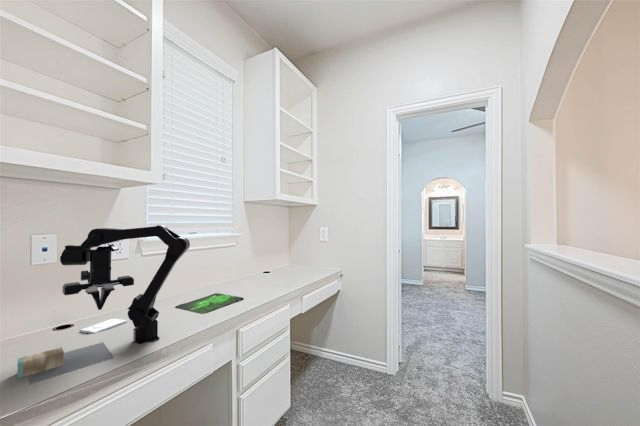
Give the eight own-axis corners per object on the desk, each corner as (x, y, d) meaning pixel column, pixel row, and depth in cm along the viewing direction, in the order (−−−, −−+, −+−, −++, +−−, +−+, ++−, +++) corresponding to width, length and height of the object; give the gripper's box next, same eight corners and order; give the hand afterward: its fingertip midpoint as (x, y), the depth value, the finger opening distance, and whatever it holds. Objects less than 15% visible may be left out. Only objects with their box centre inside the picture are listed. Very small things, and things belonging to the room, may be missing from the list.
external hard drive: (126, 324, 114) (94, 336, 102) (112, 322, 117) (79, 333, 105) (126, 320, 114) (94, 331, 102) (112, 318, 117) (79, 329, 105)
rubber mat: (103, 343, 95) (103, 342, 95) (114, 359, 84) (114, 357, 84) (27, 364, 81) (27, 362, 81) (29, 386, 71) (29, 384, 71)
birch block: (61, 347, 83) (17, 358, 76) (63, 351, 80) (17, 363, 73) (61, 360, 83) (17, 373, 76) (63, 365, 80) (17, 378, 73)
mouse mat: (203, 315, 124) (203, 313, 124) (172, 308, 133) (172, 306, 134) (245, 299, 148) (245, 297, 148) (216, 294, 158) (216, 292, 158)
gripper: (126, 259, 107) (125, 299, 107) (60, 265, 93) (59, 311, 93) (134, 262, 100) (134, 305, 99) (65, 269, 86) (64, 319, 85)
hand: (99, 309), depth 94 cm, fingers closed
